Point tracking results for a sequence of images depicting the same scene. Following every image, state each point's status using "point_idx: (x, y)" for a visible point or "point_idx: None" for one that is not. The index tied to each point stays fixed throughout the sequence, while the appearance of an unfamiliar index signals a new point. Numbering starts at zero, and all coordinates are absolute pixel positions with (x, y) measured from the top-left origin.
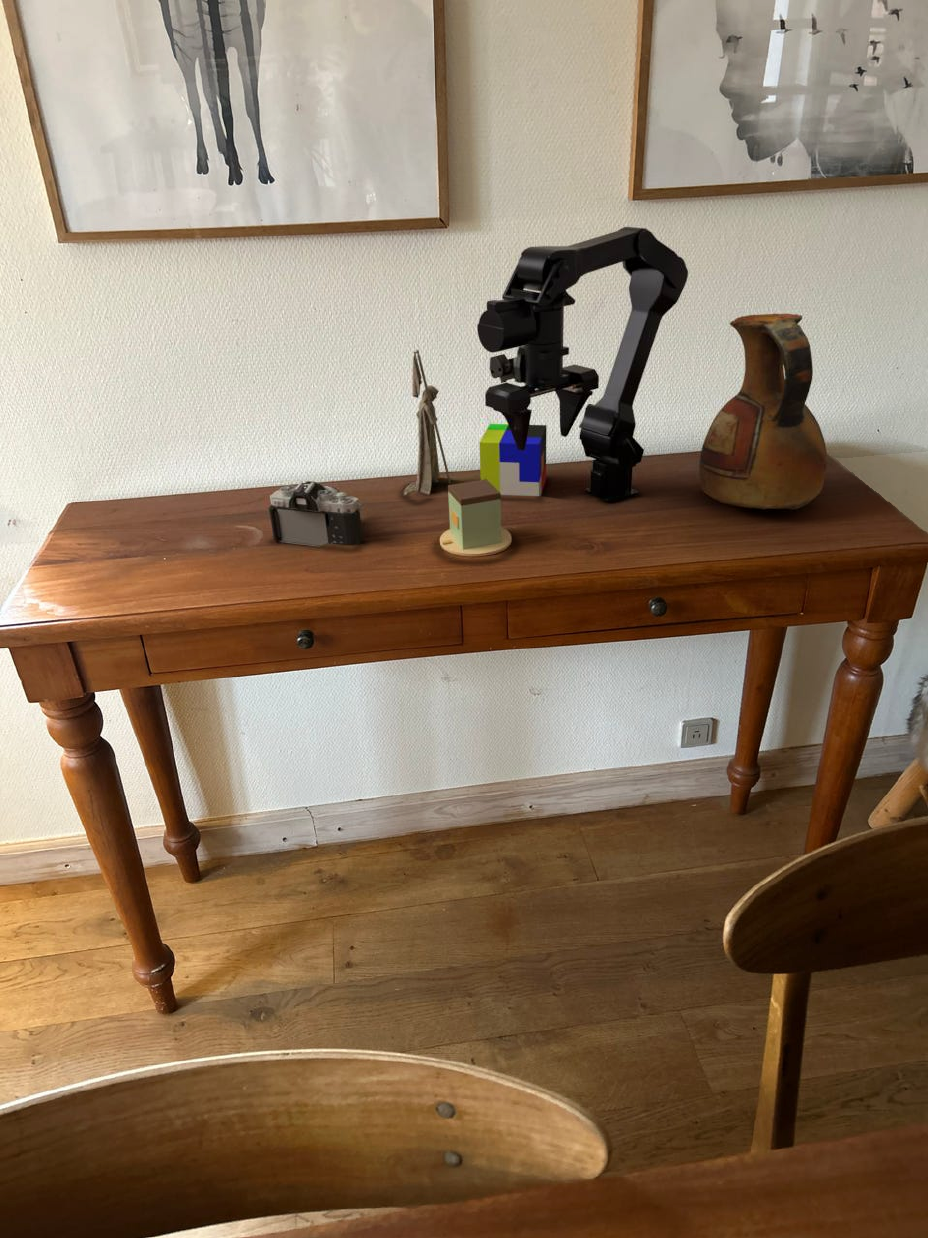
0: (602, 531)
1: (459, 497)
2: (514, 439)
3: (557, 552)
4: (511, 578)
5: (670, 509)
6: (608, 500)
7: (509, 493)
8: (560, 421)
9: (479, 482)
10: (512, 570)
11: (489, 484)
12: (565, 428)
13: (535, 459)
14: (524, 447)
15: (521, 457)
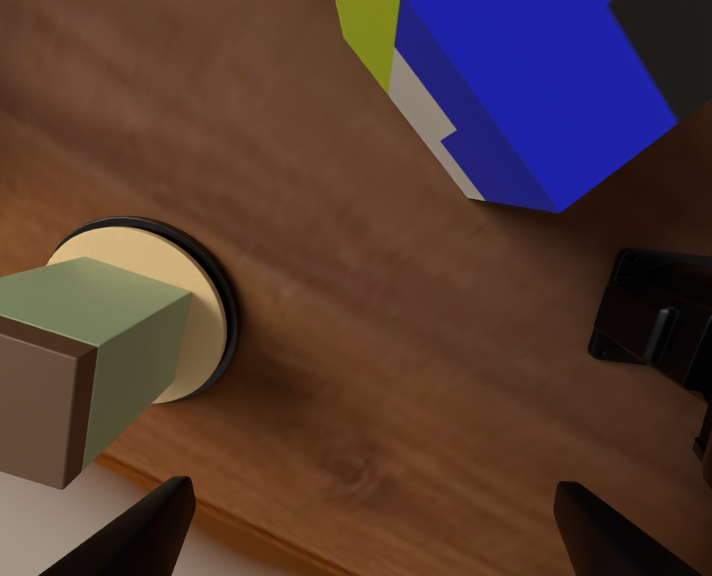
0: (433, 445)
1: None
2: (108, 528)
3: (281, 450)
4: (137, 466)
5: (652, 470)
6: (591, 355)
7: (410, 116)
8: (627, 568)
9: (34, 369)
10: (156, 446)
11: (61, 411)
12: (583, 570)
13: (510, 193)
14: (184, 530)
15: (470, 136)
